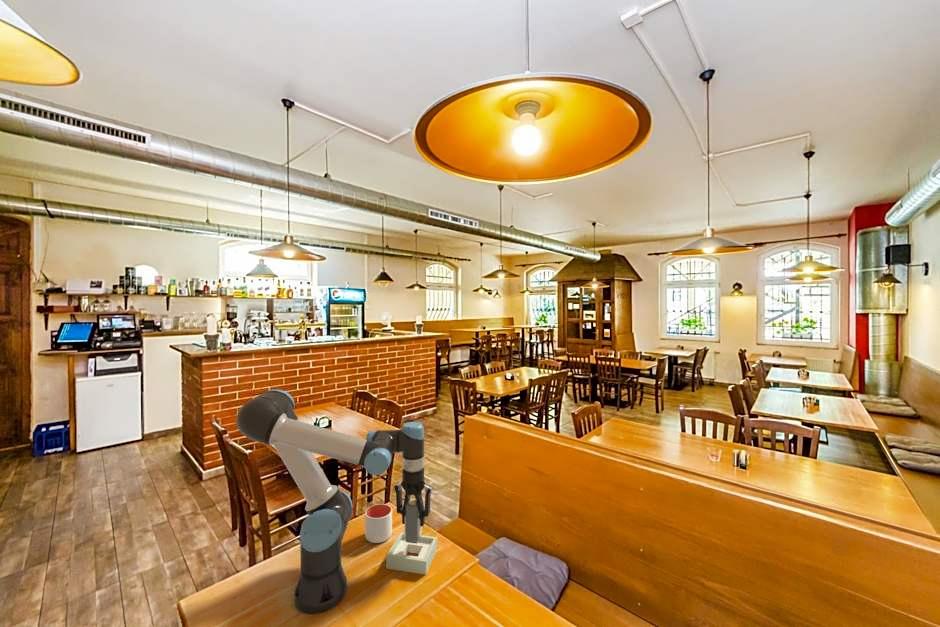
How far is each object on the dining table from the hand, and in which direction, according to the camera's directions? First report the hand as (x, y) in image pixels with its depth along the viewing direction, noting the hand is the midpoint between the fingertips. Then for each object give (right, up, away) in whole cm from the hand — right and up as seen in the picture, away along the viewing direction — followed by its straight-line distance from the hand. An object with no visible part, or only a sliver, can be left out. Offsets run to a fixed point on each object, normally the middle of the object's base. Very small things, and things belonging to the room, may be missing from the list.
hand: (413, 533), depth 132 cm
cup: (-15, -9, +12) cm, 22 cm away
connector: (0, -2, 0) cm, 2 cm away
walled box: (0, -9, 0) cm, 9 cm away
